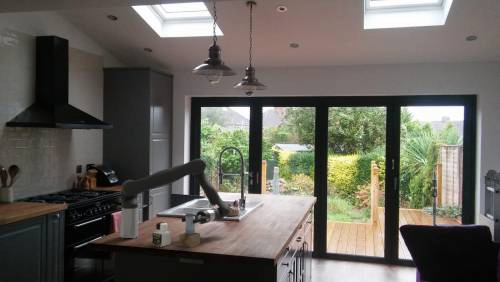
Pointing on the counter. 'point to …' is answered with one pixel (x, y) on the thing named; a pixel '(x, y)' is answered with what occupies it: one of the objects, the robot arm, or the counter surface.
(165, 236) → the medicine bottle
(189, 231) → the spice jar
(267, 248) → the counter surface
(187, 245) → the walnut block
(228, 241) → the counter surface
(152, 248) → the counter surface
